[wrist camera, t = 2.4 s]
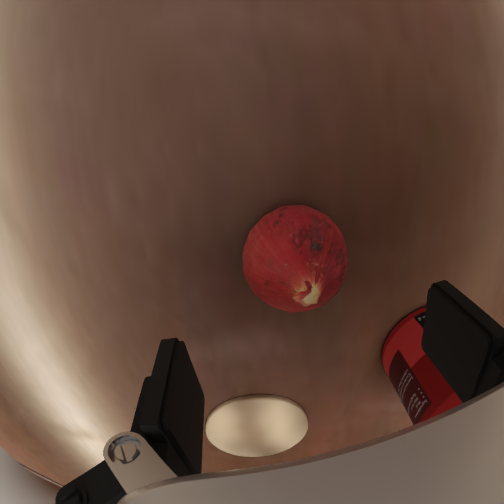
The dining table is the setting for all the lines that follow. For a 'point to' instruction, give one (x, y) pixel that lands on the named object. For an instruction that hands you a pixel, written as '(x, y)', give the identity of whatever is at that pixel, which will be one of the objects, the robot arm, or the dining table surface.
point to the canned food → (416, 371)
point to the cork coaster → (256, 425)
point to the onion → (295, 258)
